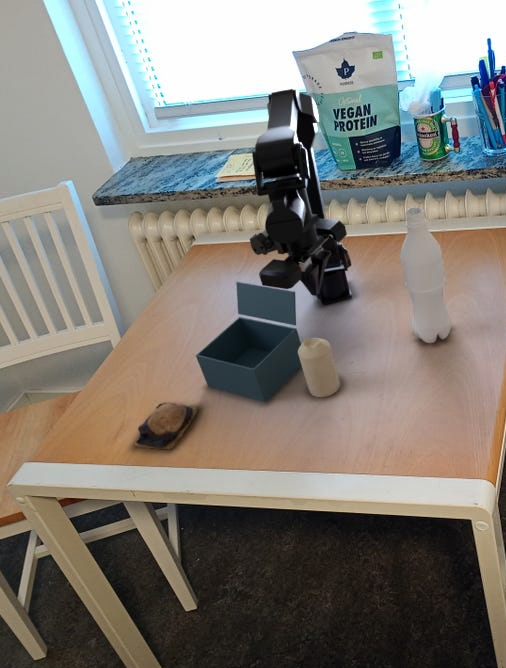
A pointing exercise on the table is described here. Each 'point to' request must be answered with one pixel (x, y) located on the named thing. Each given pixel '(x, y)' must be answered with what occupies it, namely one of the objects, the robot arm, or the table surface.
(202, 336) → the table surface
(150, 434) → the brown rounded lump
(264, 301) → the flap
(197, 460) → the table surface
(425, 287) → the water bottle
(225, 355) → the carton
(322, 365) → the candle
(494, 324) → the table surface
